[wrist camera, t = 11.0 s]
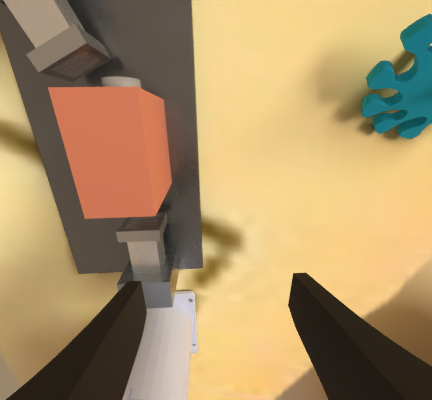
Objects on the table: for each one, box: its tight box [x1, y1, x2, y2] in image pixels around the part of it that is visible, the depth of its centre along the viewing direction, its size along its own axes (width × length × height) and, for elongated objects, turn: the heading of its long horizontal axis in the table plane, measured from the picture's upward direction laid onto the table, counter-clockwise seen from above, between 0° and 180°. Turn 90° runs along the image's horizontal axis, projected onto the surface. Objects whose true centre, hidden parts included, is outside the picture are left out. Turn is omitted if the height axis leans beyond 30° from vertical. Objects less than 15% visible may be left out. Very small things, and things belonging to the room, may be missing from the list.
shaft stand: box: [0, 0, 203, 309], centre depth 13 cm, size 24×12×6 cm, turn 1°
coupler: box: [48, 76, 172, 219], centre depth 12 cm, size 8×4×6 cm, turn 1°
